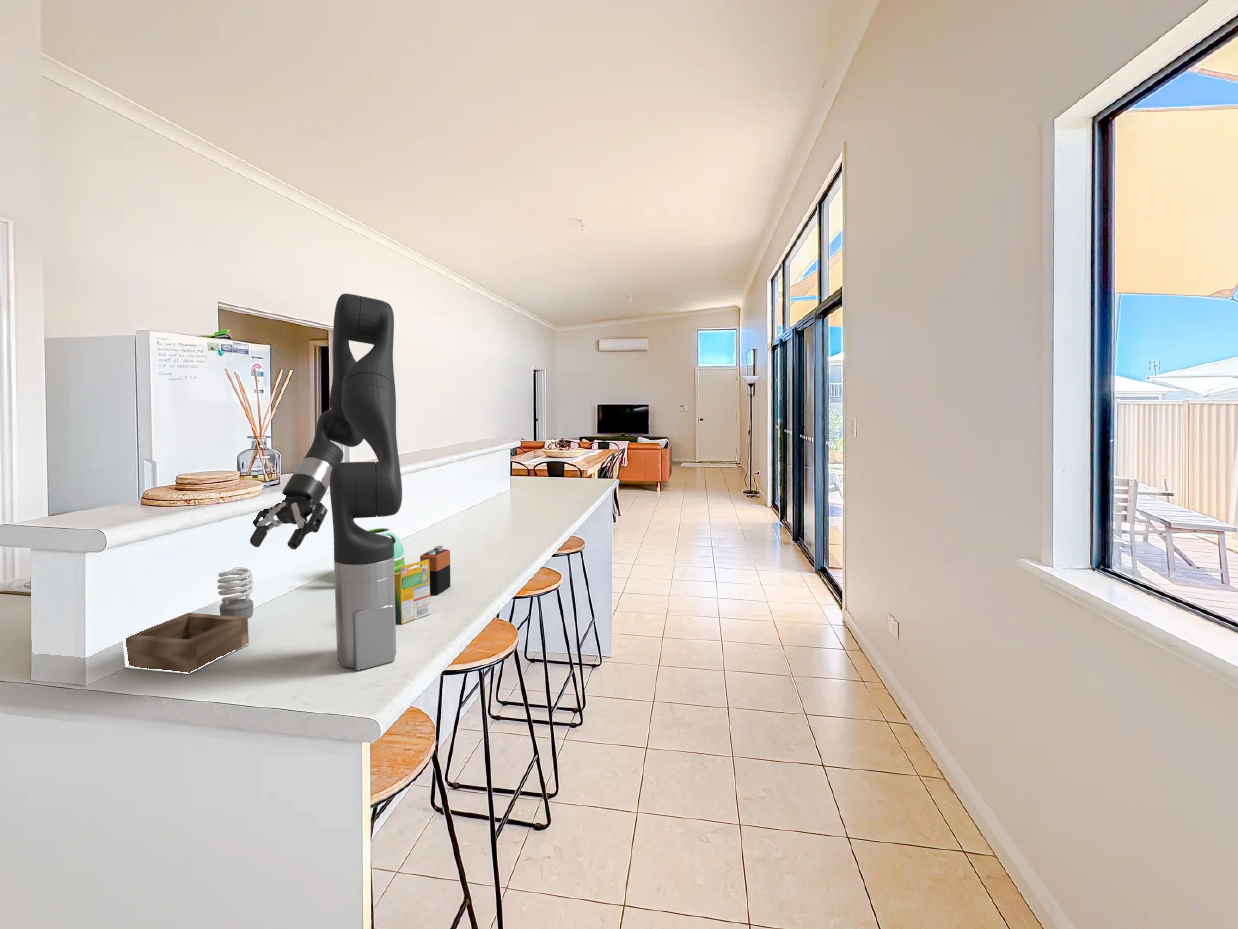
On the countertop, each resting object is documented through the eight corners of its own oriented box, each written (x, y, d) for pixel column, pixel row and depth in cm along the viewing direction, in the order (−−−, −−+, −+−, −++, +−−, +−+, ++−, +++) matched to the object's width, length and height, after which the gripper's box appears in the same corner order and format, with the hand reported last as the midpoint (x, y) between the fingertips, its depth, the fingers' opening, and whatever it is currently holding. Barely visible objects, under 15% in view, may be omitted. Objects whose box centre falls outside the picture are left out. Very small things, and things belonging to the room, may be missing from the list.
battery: (451, 587, 140) (450, 545, 139) (437, 596, 133) (437, 552, 132) (434, 586, 141) (433, 544, 140) (419, 594, 134) (418, 551, 133)
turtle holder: (323, 588, 138) (321, 538, 136) (375, 568, 155) (373, 523, 154) (368, 593, 134) (366, 542, 133) (416, 572, 152) (415, 526, 150)
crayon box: (421, 611, 123) (420, 556, 122) (431, 614, 121) (430, 558, 120) (391, 622, 117) (390, 564, 116) (401, 625, 115) (400, 566, 114)
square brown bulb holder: (248, 645, 105) (247, 617, 104) (188, 674, 93) (187, 644, 92) (190, 639, 107) (188, 612, 106) (124, 668, 95) (122, 638, 94)
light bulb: (248, 622, 115) (246, 562, 114) (260, 629, 112) (257, 567, 111) (215, 631, 111) (212, 568, 110) (225, 638, 107) (222, 573, 106)
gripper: (271, 471, 128) (230, 534, 118) (330, 473, 125) (294, 538, 115) (289, 492, 133) (252, 554, 123) (346, 494, 131) (313, 558, 121)
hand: (272, 546), depth 119 cm, fingers open, 8 cm apart
